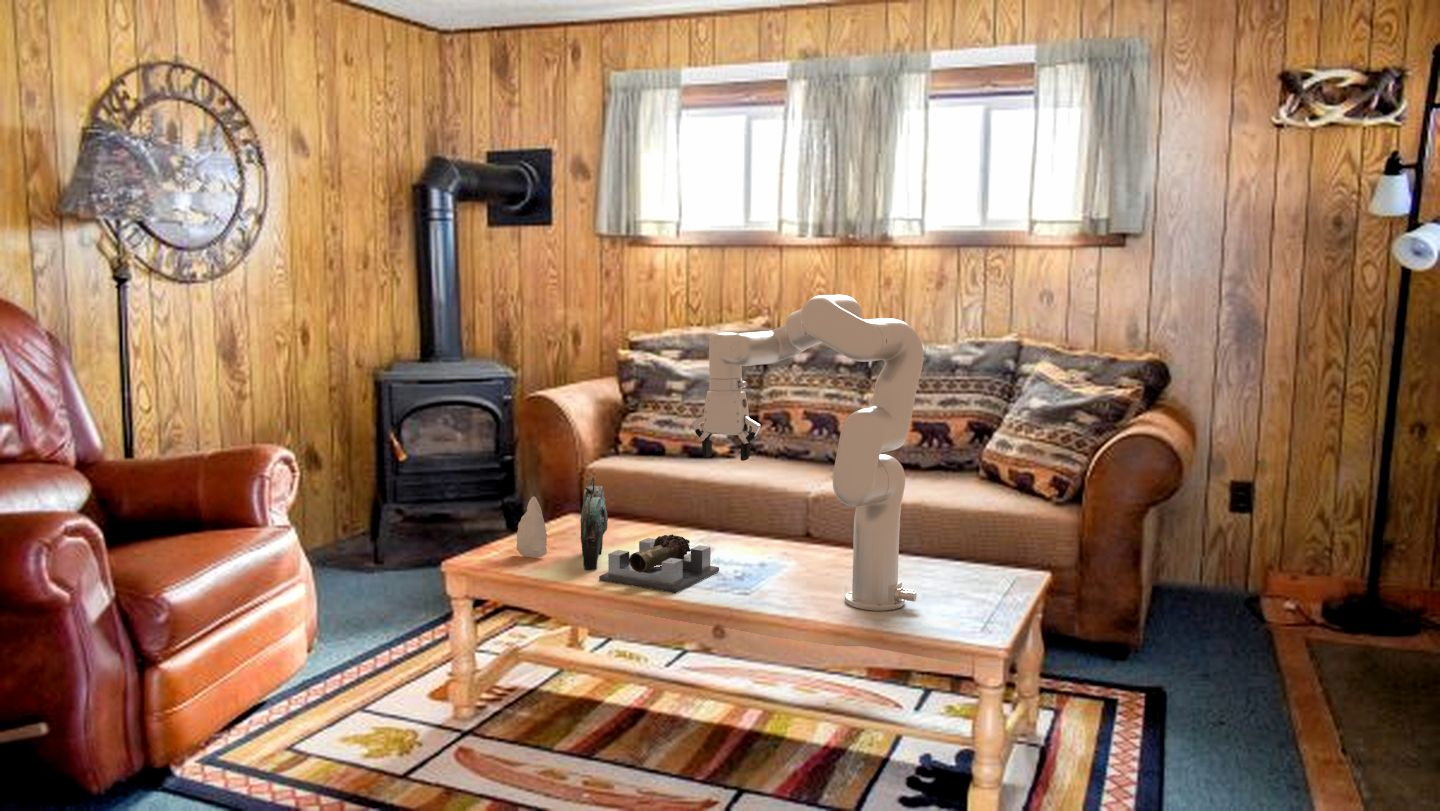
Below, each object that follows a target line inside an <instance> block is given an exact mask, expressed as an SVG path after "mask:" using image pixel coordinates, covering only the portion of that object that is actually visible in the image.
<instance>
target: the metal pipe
mask: <svg viewBox="0 0 1440 811" xmlns="http://www.w3.org/2000/svg"><path fill="white" fill-rule="evenodd" d="M655 539H656V540H655V541H654V542H655V543H654V546H653V547H652V548H648V549H645V550H642V551H639V550H638V551H636V552H633V553H631V555H629V563H630V565H631V567H632V568H633V569H634V570H635V571H637V572H640V573H641V572H644V571H645V570H647V569H650V568H652V567H654V566H656V565H658V564H661V563H662V562H663V561H665V560H667V559H669V558H675V559H684V556H687V555H688V552H690V553H691V548H690V543H691V541H690V540H689V539H687V538H684V537H683V536H680V535H676V534H675V535H674V534H669V535H668V534H664V535H660V536H657V538H655Z"/></svg>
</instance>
